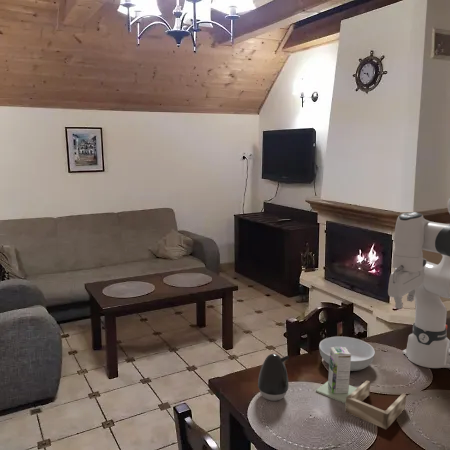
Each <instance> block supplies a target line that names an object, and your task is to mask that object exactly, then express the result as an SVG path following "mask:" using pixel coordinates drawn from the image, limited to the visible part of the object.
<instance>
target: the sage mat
mask: <svg viewBox="0 0 450 450" xmlns="http://www.w3.org/2000/svg"><path fill="white" fill-rule="evenodd" d="M357 388H358V387H356V386H353V385H351V384H349V391H348V393H342V394H332V392H331V390H330V388H329V387H328V380H327V381H326V382H325V383H324V384H322V385H321V386H320V387H318V388H317V389H315V392H316V393H319V394H321V395H323V396H325V397H328V398H330V399H333V400H334V401H337V402H339V403H342V404H345V405H346V397H348V396H349V395H350V394H351V393H352V392H353V391H355V390H356V389H357Z"/></svg>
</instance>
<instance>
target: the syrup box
mask: <svg viewBox="0 0 450 450" xmlns="http://www.w3.org/2000/svg"><path fill="white" fill-rule="evenodd" d="M350 364H351V354H350V352H349V351H348V350H347V348H346V347H331V348H330V362H329V364H328V365H329V366H328V380H327V381H328V387H329V388H330V390H331V392H332V394H342V393H348V391H349V385H350V377H351V375H350V373H351V371H350Z"/></svg>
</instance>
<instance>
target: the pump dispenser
mask: <svg viewBox="0 0 450 450" xmlns="http://www.w3.org/2000/svg"><path fill="white" fill-rule="evenodd" d="M289 359H290V356H289V355H285V356H283V357H281V356H280V355H279V354H277V353H271V354H269V355H267V356H266V358H265V359H264V361H263V363H262V364H261V367H260V371H259V374H258V379H257V381H258V382H257V387H258V389H259V392H260V395H261V396H262V397H263V398H264V399H266V400H267V401H271V402H276V401H280V400H282V399H283V398H284V397H286V395H287V391H288V390H289V377H288V376H289V375H288V372H287V368H286V365H285V363H284V362H286V361H288V360H289Z"/></svg>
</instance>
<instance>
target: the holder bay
mask: <svg viewBox="0 0 450 450" xmlns="http://www.w3.org/2000/svg"><path fill="white" fill-rule="evenodd" d="M370 386H371V381H370V380H365V381H364V382H363V383H362V384H360V385H359V386H358V387H356V388H357V389H356V390H355V391H353V392H352V393H351V394H350V395H349V396H348V397H346V403H345V413H347V414H348V415H351V416H353V417H355V418H358V417H359V418H358V419H361V420H363V421H365V422H367V423H370V424H372V425H374V426H377V427H379V428H382V429H383V430H387V429H388V428H389V427H390V426H391V425H392V424H393V423H394V422H396V421H395V420H396V419H397V418H398V417H400V415H401V414H402V413H403V412H404V411H405V410H406V402H407V394H405V393H401V394H400V396H398V397H397V399H395V401H393V403H391V404H390V405H389V407H387V409H386V410H383V409H382V408H378V407H376V406H374V405H372V404H369V403H366V402H364V400H365V399H367V397H369V396H370ZM403 410H404V411H403ZM402 411H403V412H402Z"/></svg>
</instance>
